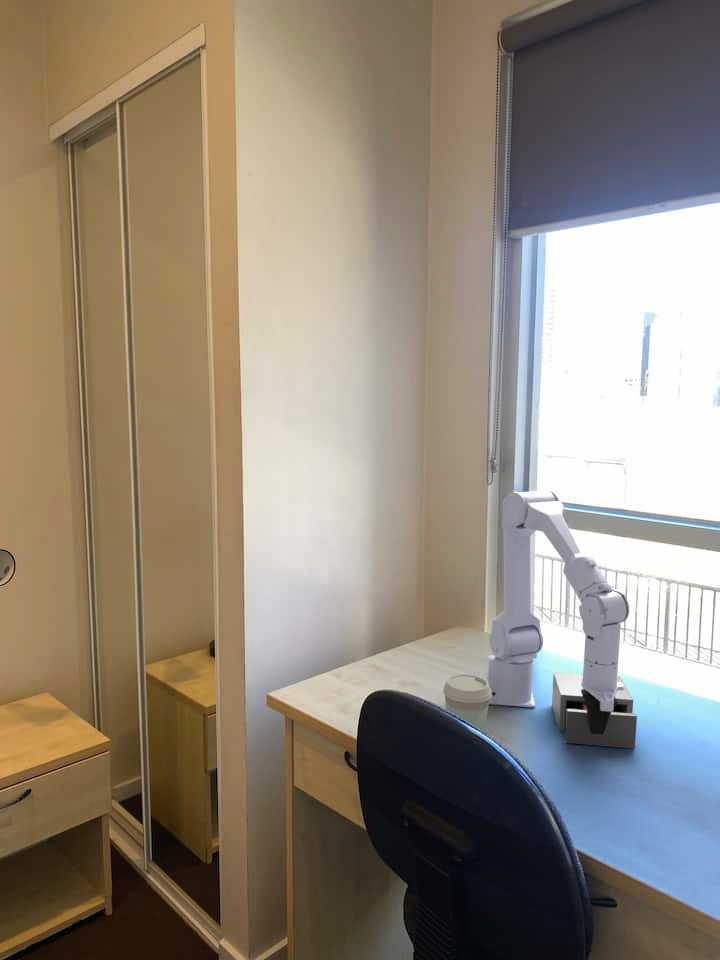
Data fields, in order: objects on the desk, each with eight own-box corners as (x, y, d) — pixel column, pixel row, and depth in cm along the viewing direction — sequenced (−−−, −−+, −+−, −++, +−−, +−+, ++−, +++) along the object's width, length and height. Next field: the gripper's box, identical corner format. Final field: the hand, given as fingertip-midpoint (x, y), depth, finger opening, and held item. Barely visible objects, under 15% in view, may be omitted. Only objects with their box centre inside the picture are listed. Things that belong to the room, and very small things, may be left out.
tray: (565, 742, 130) (567, 711, 129) (557, 715, 141) (559, 686, 140) (634, 748, 128) (636, 716, 128) (621, 720, 139) (623, 690, 138)
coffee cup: (478, 763, 123) (480, 696, 121) (433, 749, 127) (435, 684, 126) (496, 743, 130) (499, 679, 129) (453, 730, 135) (455, 669, 133)
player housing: (559, 730, 135) (560, 694, 134) (551, 705, 146) (553, 672, 145) (630, 736, 133) (633, 699, 132) (618, 710, 144) (620, 676, 143)
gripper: (634, 676, 118) (629, 754, 120) (616, 646, 132) (611, 716, 134) (590, 673, 119) (585, 751, 121) (576, 643, 133) (572, 713, 135)
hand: (596, 732), depth 127 cm, fingers closed
